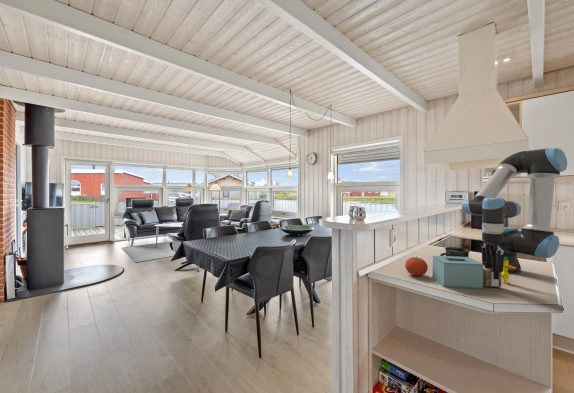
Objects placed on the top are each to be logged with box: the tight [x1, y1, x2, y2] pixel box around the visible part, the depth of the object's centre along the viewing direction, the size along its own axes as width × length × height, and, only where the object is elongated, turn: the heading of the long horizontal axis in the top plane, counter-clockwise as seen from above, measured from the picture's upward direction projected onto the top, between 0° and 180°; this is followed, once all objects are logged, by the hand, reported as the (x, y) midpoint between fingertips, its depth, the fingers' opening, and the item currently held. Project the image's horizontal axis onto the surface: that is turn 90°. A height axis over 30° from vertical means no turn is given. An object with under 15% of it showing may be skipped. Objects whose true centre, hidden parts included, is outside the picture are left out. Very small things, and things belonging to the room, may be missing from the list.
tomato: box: [404, 255, 429, 277], centre depth 129 cm, size 10×10×10 cm
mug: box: [439, 246, 470, 258], centre depth 136 cm, size 11×15×12 cm
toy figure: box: [501, 258, 516, 285], centre depth 119 cm, size 7×4×12 cm, turn 18°
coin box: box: [431, 255, 484, 290], centre depth 119 cm, size 16×12×11 cm
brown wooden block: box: [483, 268, 502, 288], centre depth 114 cm, size 6×3×7 cm, turn 81°
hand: (491, 284), depth 115 cm, fingers closed on brown wooden block, 3 cm apart
